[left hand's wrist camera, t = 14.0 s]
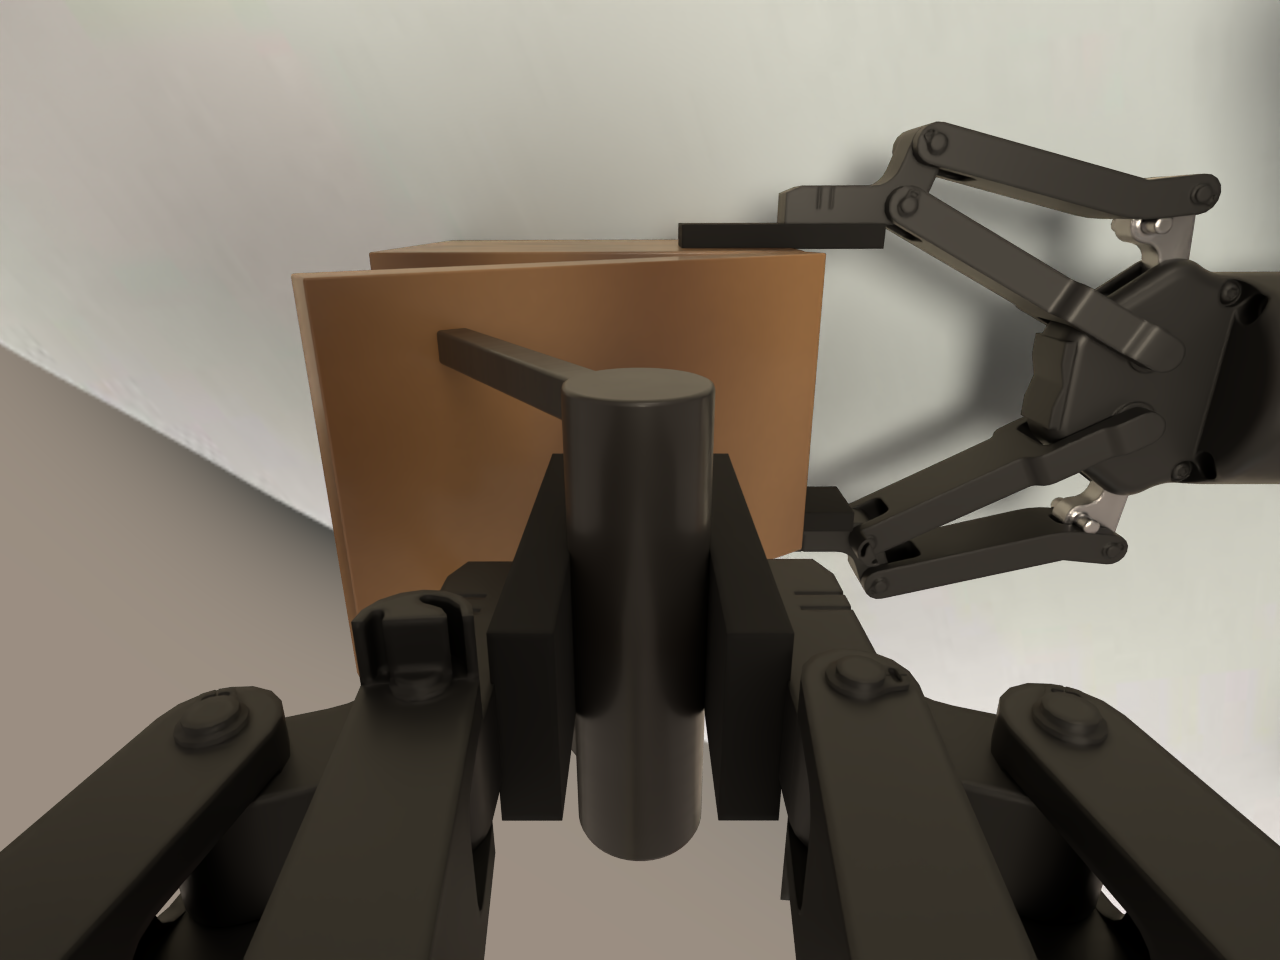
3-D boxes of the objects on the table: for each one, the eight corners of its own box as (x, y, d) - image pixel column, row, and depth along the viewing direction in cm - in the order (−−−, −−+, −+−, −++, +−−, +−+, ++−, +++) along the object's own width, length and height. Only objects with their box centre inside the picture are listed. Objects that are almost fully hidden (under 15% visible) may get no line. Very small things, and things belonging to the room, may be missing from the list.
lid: (356, 673, 17) (522, 997, 10) (290, 273, 14) (463, 334, 7) (775, 536, 25) (1043, 668, 17) (794, 250, 21) (1134, 269, 14)
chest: (469, 447, 34) (404, 534, 25) (450, 240, 31) (368, 252, 22) (746, 446, 34) (784, 534, 25) (756, 239, 31) (805, 251, 21)
